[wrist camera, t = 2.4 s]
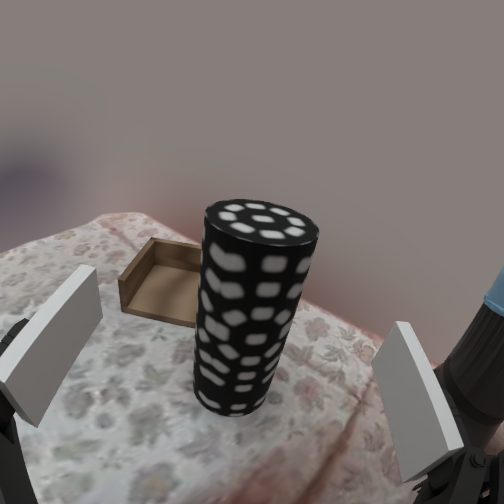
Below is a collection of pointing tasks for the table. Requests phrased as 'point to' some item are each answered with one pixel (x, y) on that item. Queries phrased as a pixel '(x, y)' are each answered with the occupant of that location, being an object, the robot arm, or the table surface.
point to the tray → (162, 282)
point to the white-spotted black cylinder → (247, 299)
